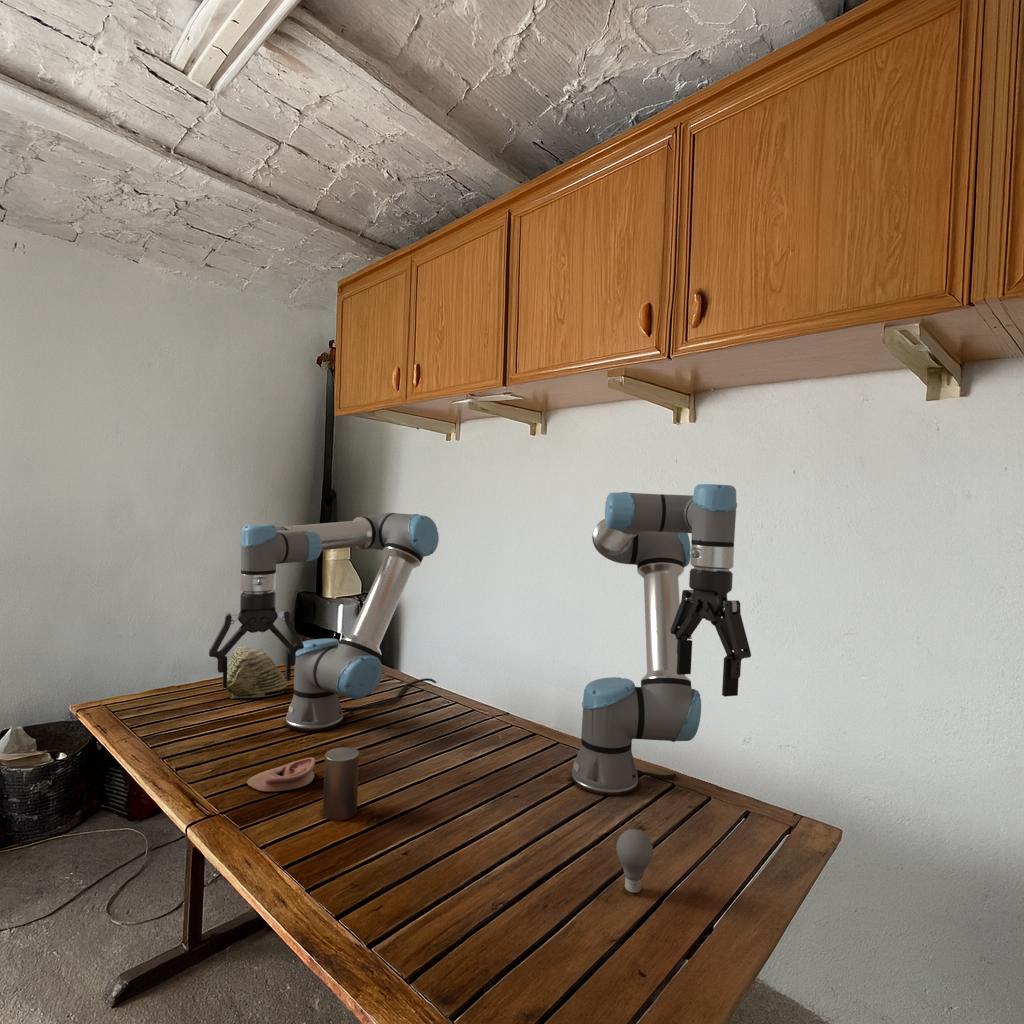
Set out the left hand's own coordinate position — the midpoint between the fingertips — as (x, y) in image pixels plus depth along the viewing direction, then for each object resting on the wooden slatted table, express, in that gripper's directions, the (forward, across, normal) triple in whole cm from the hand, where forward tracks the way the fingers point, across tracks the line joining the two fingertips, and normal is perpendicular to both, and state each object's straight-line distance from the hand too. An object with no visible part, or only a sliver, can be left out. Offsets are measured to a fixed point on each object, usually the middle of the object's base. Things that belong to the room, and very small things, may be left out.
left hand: (257, 682), depth 146 cm
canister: (+20, +13, -29) cm, 37 cm away
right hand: (-12, +71, -69) cm, 100 cm away
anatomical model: (+20, +4, -10) cm, 23 cm away
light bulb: (+20, +52, -73) cm, 92 cm away
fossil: (+20, +4, +55) cm, 59 cm away
